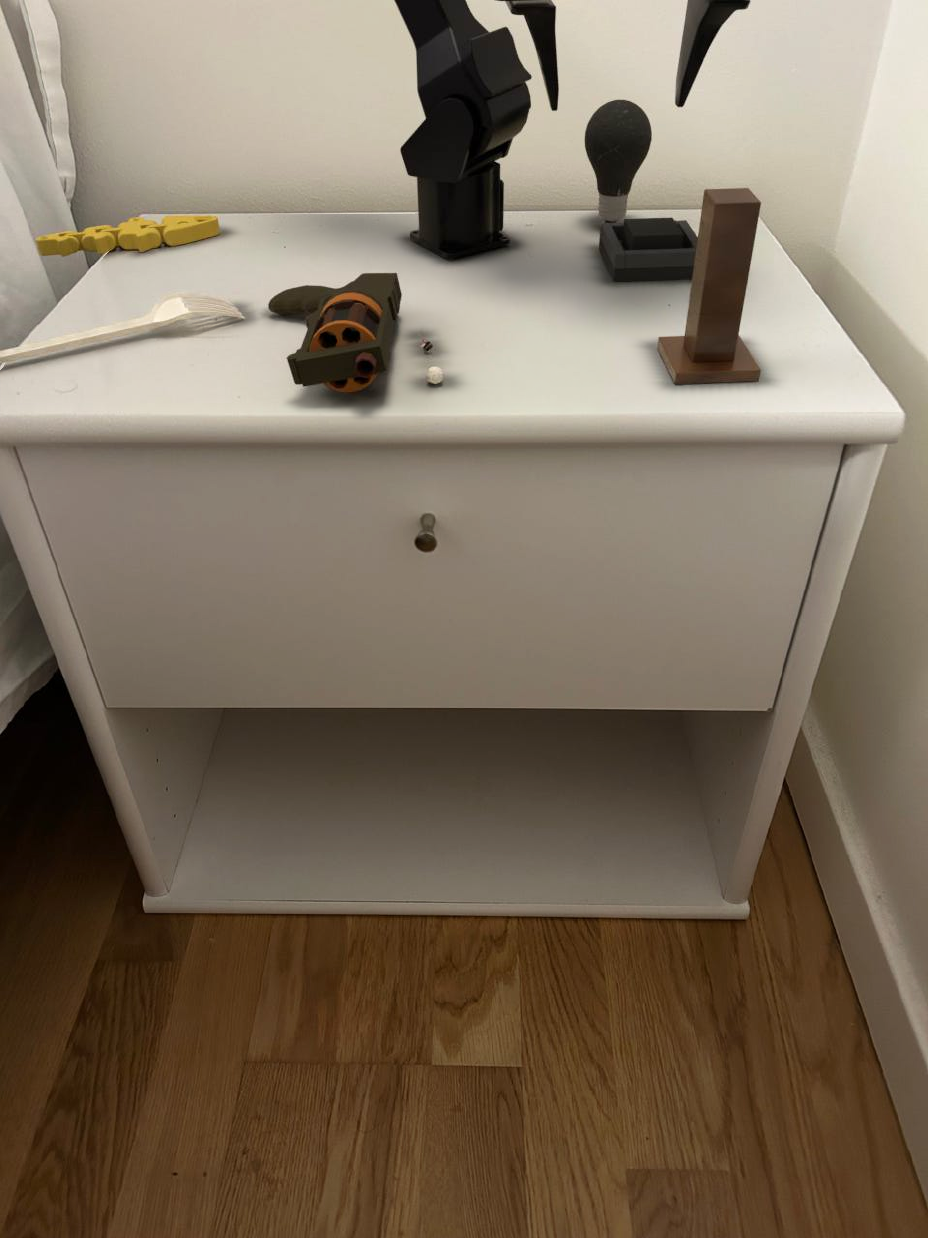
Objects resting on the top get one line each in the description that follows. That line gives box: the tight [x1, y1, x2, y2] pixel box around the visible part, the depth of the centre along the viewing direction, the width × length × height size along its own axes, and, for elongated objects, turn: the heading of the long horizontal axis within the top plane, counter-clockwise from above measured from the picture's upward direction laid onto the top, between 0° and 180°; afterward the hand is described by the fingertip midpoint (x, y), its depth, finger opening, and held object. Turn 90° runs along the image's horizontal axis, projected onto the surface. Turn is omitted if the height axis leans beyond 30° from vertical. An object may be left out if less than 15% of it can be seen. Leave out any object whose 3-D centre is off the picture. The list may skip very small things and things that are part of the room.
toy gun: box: [267, 272, 403, 393], centre depth 69 cm, size 5×17×10 cm
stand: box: [656, 187, 762, 385], centre depth 65 cm, size 6×6×11 cm
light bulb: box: [584, 99, 653, 223], centre depth 87 cm, size 6×6×10 cm
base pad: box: [598, 219, 698, 283], centre depth 82 cm, size 7×7×2 cm
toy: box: [35, 214, 221, 258], centre depth 87 cm, size 15×1×5 cm
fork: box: [0, 291, 246, 364], centre depth 71 cm, size 3×20×2 cm, turn 120°
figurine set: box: [417, 332, 444, 385], centre depth 69 cm, size 1×8×1 cm
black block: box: [622, 217, 684, 250], centre depth 81 cm, size 4×4×2 cm
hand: (616, 107), depth 74 cm, fingers open, 9 cm apart
